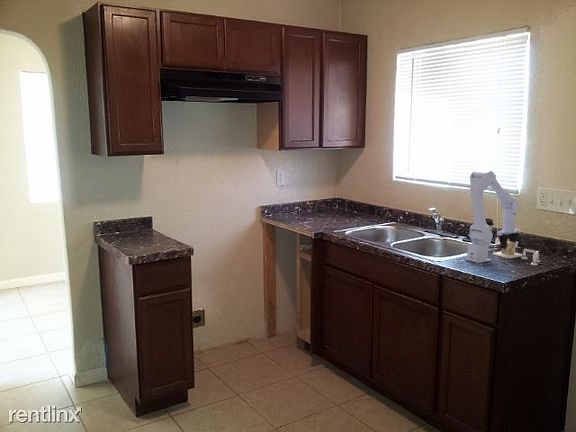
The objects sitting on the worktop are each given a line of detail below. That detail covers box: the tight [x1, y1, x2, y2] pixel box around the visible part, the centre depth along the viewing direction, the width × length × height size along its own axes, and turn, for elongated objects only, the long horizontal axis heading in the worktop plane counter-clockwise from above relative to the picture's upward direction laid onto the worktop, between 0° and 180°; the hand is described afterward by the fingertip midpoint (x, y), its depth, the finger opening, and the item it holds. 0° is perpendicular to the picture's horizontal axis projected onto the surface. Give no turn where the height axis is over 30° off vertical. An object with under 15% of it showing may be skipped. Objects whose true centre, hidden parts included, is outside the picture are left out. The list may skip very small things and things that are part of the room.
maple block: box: [500, 240, 516, 255], centre depth 259 cm, size 4×4×6 cm
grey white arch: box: [520, 248, 541, 266], centre depth 246 cm, size 9×13×5 cm
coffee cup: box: [485, 218, 494, 248], centre depth 279 cm, size 8×8×15 cm
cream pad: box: [492, 251, 523, 259], centre depth 260 cm, size 10×10×1 cm
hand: (507, 247), depth 259 cm, fingers open, 5 cm apart
